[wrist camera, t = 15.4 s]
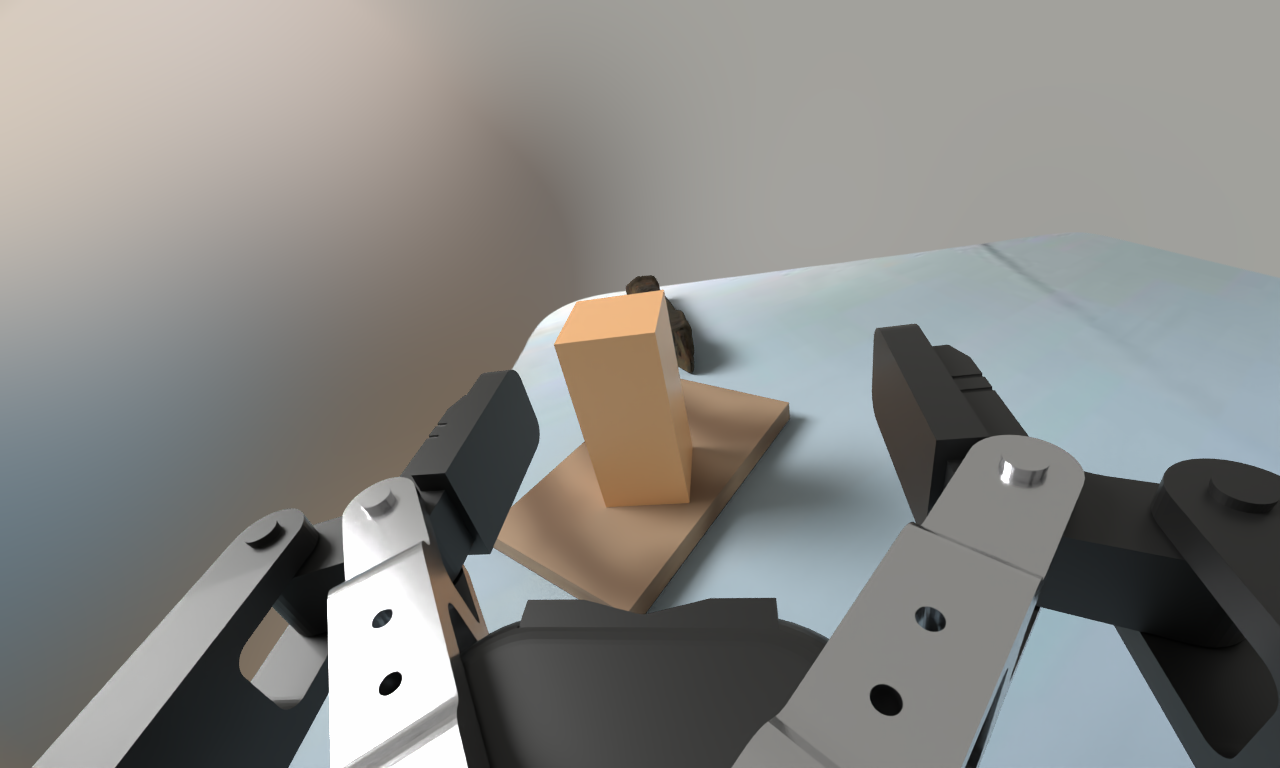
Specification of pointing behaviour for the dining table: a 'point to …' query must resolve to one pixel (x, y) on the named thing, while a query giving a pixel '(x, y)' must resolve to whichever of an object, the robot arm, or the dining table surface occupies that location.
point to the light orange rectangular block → (629, 398)
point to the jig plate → (639, 507)
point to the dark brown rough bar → (677, 322)
